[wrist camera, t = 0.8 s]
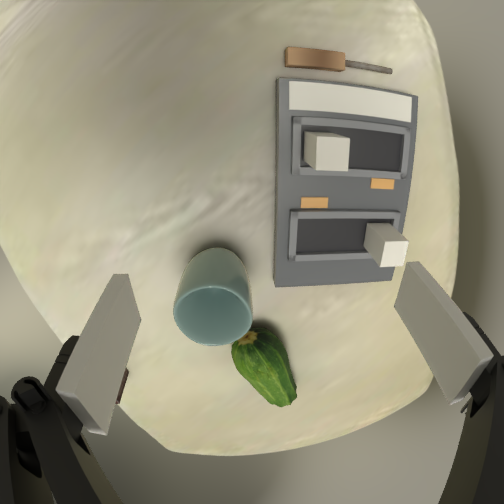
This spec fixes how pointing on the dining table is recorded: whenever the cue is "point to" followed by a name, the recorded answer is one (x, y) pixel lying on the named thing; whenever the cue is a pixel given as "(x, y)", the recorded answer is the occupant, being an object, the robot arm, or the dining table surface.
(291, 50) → the screwdriver
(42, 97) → the dining table surface
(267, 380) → the vegetable
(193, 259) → the cup
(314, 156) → the tab
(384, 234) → the tab
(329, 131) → the switch board
